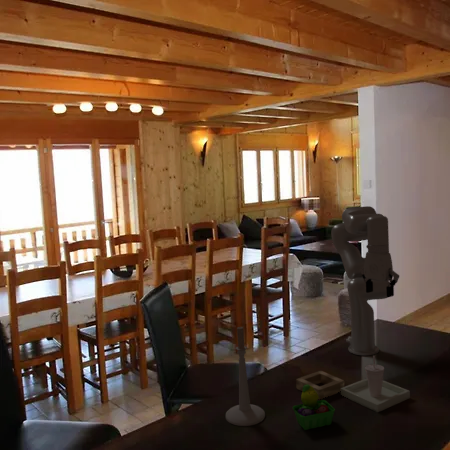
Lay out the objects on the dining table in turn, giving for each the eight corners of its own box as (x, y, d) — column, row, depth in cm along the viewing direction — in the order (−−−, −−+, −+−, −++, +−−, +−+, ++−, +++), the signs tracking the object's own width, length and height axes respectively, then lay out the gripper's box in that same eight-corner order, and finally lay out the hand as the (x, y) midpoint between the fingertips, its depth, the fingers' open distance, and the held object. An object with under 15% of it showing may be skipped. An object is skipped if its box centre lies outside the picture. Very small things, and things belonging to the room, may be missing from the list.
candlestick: (262, 426, 153) (257, 332, 150) (222, 425, 156) (216, 332, 153) (267, 407, 166) (262, 320, 163) (229, 406, 168) (224, 320, 165)
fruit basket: (302, 433, 148) (300, 397, 147) (290, 419, 157) (289, 385, 156) (336, 426, 151) (335, 390, 150) (323, 413, 160) (322, 379, 158)
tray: (340, 395, 171) (340, 388, 171) (372, 382, 180) (372, 376, 179) (377, 412, 158) (377, 405, 157) (409, 397, 166) (409, 390, 166)
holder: (296, 388, 179) (296, 379, 178) (321, 379, 185) (320, 370, 185) (319, 400, 169) (319, 390, 168) (344, 390, 175) (344, 380, 175)
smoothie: (363, 397, 167) (362, 357, 166) (367, 389, 173) (366, 351, 171) (383, 400, 164) (382, 359, 163) (386, 392, 170) (385, 353, 168)
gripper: (353, 248, 189) (355, 292, 191) (390, 252, 174) (392, 300, 176) (367, 245, 193) (368, 288, 195) (404, 250, 178) (405, 296, 180)
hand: (379, 294), depth 185 cm, fingers open, 9 cm apart
